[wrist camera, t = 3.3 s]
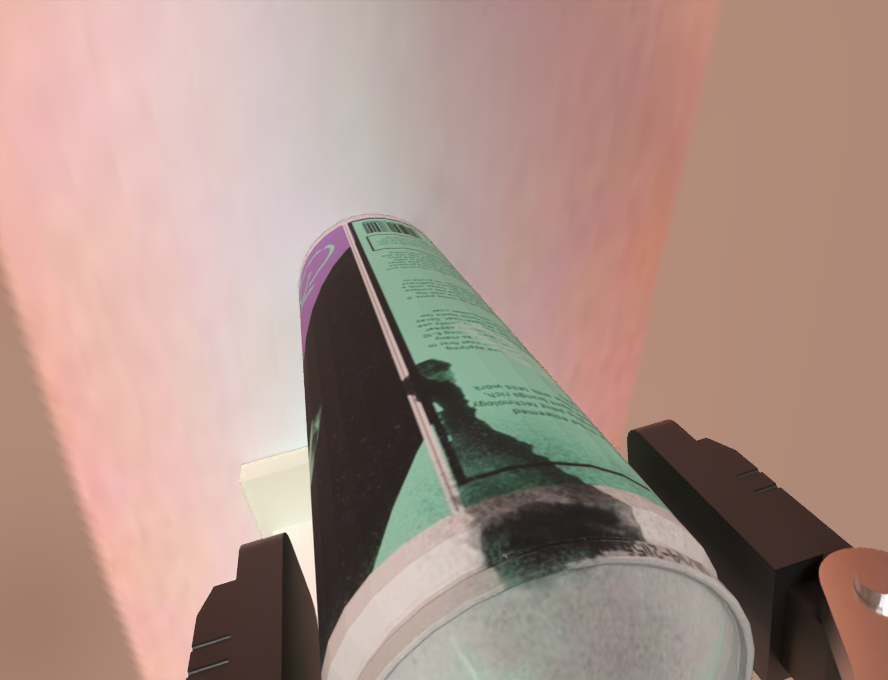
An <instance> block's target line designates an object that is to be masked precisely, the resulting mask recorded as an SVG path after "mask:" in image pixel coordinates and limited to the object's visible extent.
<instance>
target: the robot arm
mask: <svg viewBox="0 0 888 680" xmlns="http://www.w3.org/2000/svg"><path fill="white" fill-rule="evenodd" d="M627 446H628V464H629V465H630V466H631V467H632V468H633V469H634V471H635V472H636V473H637V474H638V475H639V476H640V477H641V478H642V480H643V481H644V482H645V483H646V484H647V485H648V486H649V487H650V489H651V490H652V491H653V492H654V493H655V494H656V495H657V496H658V498H659V499H660V500H661V501H662V502H663V503H664V504H665V505H666V507H667V508H668V509H669V510H670V511H671V512H672V513H673V514H674V516H675V517H676V518H677V519H678V520H679V521H680V522H681V523H682V525H683V526H684V527H685V528H686V529H687V530H688V531H689V533H690V534H691V535H692V536H693V537H694V538H695V539H696V540H697V542H698V543H699V544H700V545H701V546H702V547H703V548H704V550H705V552H706V554H707V556H708V558H709V560H710V561H711V563H712V565H713V567H714V569H715V571H716V573H717V578H718V580H720V581H721V582H722V583H723V584H724V585H725V587H726V588H727V589H728V590H729V591H730V592H731V593H732V595H733V596H734V597H735V598H736V599H737V601H738V602H739V604H740V606H741V608H742V610H743V612H744V614H745V615H746V617H747V619H748V621H749V623H750V627H751V632H752V637H753V643H754V648H755V653H754V664H753V670H754V671H755V673H756V674H757V675H758V676H759V678H760V679H761V680H784V679H787V678H789V677H792V678H793V679H794V680H888V552H886V551H882V550H877V549H872V548H862V547H860V548H859V547H858V548H854V547H852V546H851V545H850V544H848V543H847V542H846V541H845V540H843V539H842V538H841V537H840V536H838V535H837V534H836V533H835V532H834V531H833V530H831V529H830V528H829V527H828V526H827V525H825V524H824V523H823V522H822V521H821V520H819V519H818V518H817V517H816V516H814V515H813V514H812V513H811V512H810V511H808V510H807V509H806V508H805V507H804V506H802V505H801V504H800V503H799V502H798V501H796V500H795V499H794V498H793V497H792V496H790V495H789V494H788V493H787V492H785V491H784V490H783V489H782V488H778V487H777V486H776V483H775V482H773V481H772V480H771V479H770V478H768V477H767V476H766V475H765V474H764V473H763V472H761V473H759V471H758V468H756V467H755V466H754V465H753V464H752V463H750V462H749V461H748V460H747V459H746V458H744V457H743V456H742V455H741V454H740V453H738V452H737V451H736V450H734V449H732V448H729V447H727V446H725V445H722V444H720V443H718V442H715V441H713V440H711V439H708V438H705V439H701V440H698V441H696V440H695V439H694V438H693V437H691V436H690V435H689V434H688V433H687V432H686V431H685V430H684V429H683V428H681V427H680V426H679V425H678V424H677V423H676V422H674V421H672V420H664V421H661V422H658V423H654V424H651V425H648V426H644V427H641V428H637V429H634V430H631V431H630V432H629V433H628V437H627ZM192 648H193V652H191V654H190V660H189V666H188V678H186V680H321V663H320V646H319V630H318V622H317V617H316V612H315V608H314V604H313V600H312V597H311V594H310V591H309V589H308V586H307V583H306V581H305V578H304V575H303V572H302V570H301V567H300V564H299V562H298V559H297V556H296V554H295V551H294V548H293V546H292V543H291V540H290V538H289V536H288V534H287V533H286V532H284V533H280V534H277V535H274V536H270V537H267V538H264V539H260V540H257V541H254V542H250V543H247V544H243V545H241V547H240V550H239V558H238V568H237V578H236V580H234V581H231V582H228V583H224V584H221V585H218V586H214V588H213V589H212V591H211V593H210V595H209V596H208V598H207V600H206V601H205V603H204V605H203V606H202V608H201V610H200V611H199V613H198V615H197V618H196V624H195V630H194V636H193V642H192Z"/></svg>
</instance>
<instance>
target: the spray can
mask: <svg viewBox="0 0 888 680" xmlns="http://www.w3.org/2000/svg"><path fill="white" fill-rule="evenodd" d="M299 301H300V318H301V335H302V352H303V370H304V387H305V404H306V421H307V439H308V456H309V473H310V491H311V508H312V525H313V542H314V560H315V577H316V594H317V611H318V629H319V646H320V663H321V680H752V675H753V664H754V653H755V648H754V643H753V637H752V632H751V627H750V623H749V621H748V619H747V617H746V615H745V614H744V612H743V610H742V608H741V606H740V604H739V602H738V601H737V599H736V598H735V597H734V596H733V595H732V593H731V592H730V591H729V590H728V589H727V588H726V587H725V585H724V584H723V583H722V582H721V581H720V580H718V578H717V573H716V571H715V569H714V567H713V565H712V563H711V561H710V560H709V558H708V556H707V554H706V552H705V550H704V548H703V547H702V546H701V545H700V544H699V543H698V542H697V540H696V539H695V538H694V537H693V536H692V535H691V534H690V533H689V531H688V530H687V529H686V528H685V527H684V526H683V525H682V523H681V522H680V521H679V520H678V519H677V518H676V517H675V516H674V514H673V513H672V512H671V511H670V510H669V509H668V508H667V507H666V505H665V504H664V503H663V502H662V501H661V500H660V499H659V498H658V496H657V495H656V494H655V493H654V492H653V491H652V490H651V489H650V487H649V486H648V485H647V484H646V483H645V482H644V481H643V480H642V478H641V477H640V476H639V475H638V474H637V473H636V472H635V471H634V469H633V468H632V467H631V466H630V465H629V464H628V463H627V462H626V460H625V459H624V458H623V457H622V456H621V455H620V454H619V452H618V451H617V450H616V449H615V448H614V447H613V446H612V445H611V443H610V442H609V441H608V440H607V439H606V438H605V437H604V436H603V434H602V433H601V432H600V431H599V430H598V429H597V428H596V427H595V425H594V424H593V423H592V422H591V421H590V420H589V419H588V418H587V416H586V415H585V414H584V413H583V412H582V411H581V410H580V409H579V407H578V406H577V405H576V404H575V403H574V402H573V401H572V400H571V398H570V397H569V396H568V395H567V394H566V393H565V392H564V390H563V389H562V388H561V387H560V386H559V385H558V384H557V383H556V381H555V380H554V379H553V378H552V377H551V376H550V375H549V374H548V372H547V371H546V370H545V369H544V368H543V367H542V366H541V365H540V363H539V362H538V361H537V360H536V359H535V358H534V357H533V356H532V354H531V353H530V352H529V351H528V350H527V349H526V348H525V347H524V345H523V344H522V343H521V342H520V341H519V340H518V339H517V338H516V336H515V335H514V334H513V333H512V332H511V331H510V330H509V329H508V327H507V326H506V325H505V324H504V323H503V322H502V321H501V319H500V318H499V317H498V316H497V315H496V314H495V313H494V312H493V310H492V309H491V308H490V307H489V306H488V305H487V304H486V303H485V301H484V300H483V299H482V298H481V297H480V296H479V295H478V294H477V292H476V291H475V290H474V289H473V288H472V287H471V286H470V285H469V283H468V282H467V281H466V280H465V279H464V278H463V277H462V276H461V274H460V273H459V272H458V271H457V270H456V269H455V268H454V267H453V265H452V264H451V263H450V262H449V261H448V260H447V259H446V257H445V256H444V255H443V254H442V253H441V252H440V251H439V250H438V248H437V247H436V246H435V245H434V244H433V243H432V242H431V241H430V240H429V239H428V238H427V237H426V236H425V235H424V234H423V233H422V232H421V231H420V230H418V229H417V228H415V227H414V226H412V225H411V224H409V223H408V222H406V221H403V220H401V219H398V218H396V217H392V216H387V215H382V214H365V215H360V216H355V217H350V218H348V219H346V220H343V221H341V222H339V223H337V224H335V225H334V226H332V227H331V228H329V229H328V230H326V231H325V232H324V233H323V234H322V235H321V236H320V237H319V238H318V239H317V240H316V241H315V242H314V243H313V245H312V247H311V248H310V250H309V251H308V253H307V254H306V257H305V260H304V262H303V265H302V268H301V274H300V280H299Z"/></svg>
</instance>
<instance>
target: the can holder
mask: <svg viewBox="0 0 888 680" xmlns="http://www.w3.org/2000/svg"><path fill="white" fill-rule="evenodd" d="M240 485H241V487H242V490H243V493H244V495H245V498H246V500H247V503H248V505H249V508H250V510H251V513H252V515H253V518H254V520H255V523H256V525H257V528H258V530H259V533H260V535H261V538H262V539H264V538H267V537H270V536H274V535H277V534H280V533H284V532H286V533H287V534H288V536H289V538H290V540H291V543H292V546H293V548H294V551H295V554H296V556H297V559H298V562H299V564H300V567H301V570H302V572H303V575H304V578H305V581H306V583H307V586H308V589H309V591H310V594H311V597H312V600H313V604H314V608H315V612H316V617H317V622H318V611H317V594H316V577H315V560H314V542H313V525H312V508H311V491H310V473H309V456H308V446H307V447H304V448H300V449H296V450H293V451H289V452H286V453H282V454H278V455H275V456H271V457H268V458H264V459H260V460H257V461H253V462H250V463H246V464H243V465H241V474H240ZM318 630H319V629H318Z"/></svg>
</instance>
